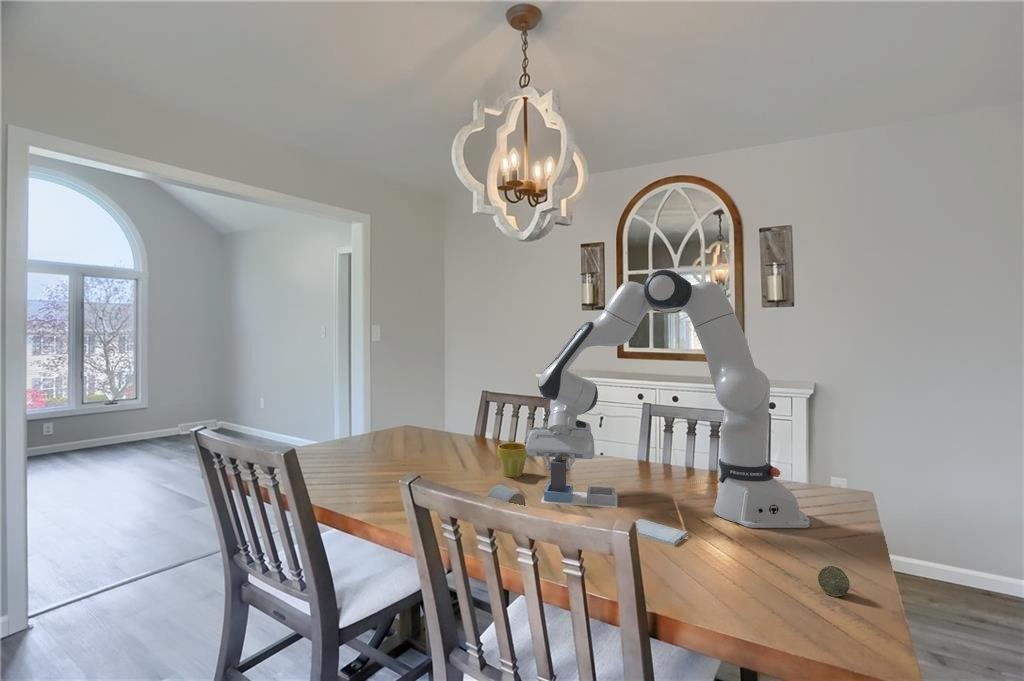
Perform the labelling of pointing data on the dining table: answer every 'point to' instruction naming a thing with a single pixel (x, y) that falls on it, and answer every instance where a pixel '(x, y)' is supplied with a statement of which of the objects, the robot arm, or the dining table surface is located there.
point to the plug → (558, 473)
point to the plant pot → (512, 458)
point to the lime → (833, 581)
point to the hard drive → (660, 532)
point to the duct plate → (582, 496)
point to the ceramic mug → (507, 495)
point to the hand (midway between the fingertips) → (558, 469)
